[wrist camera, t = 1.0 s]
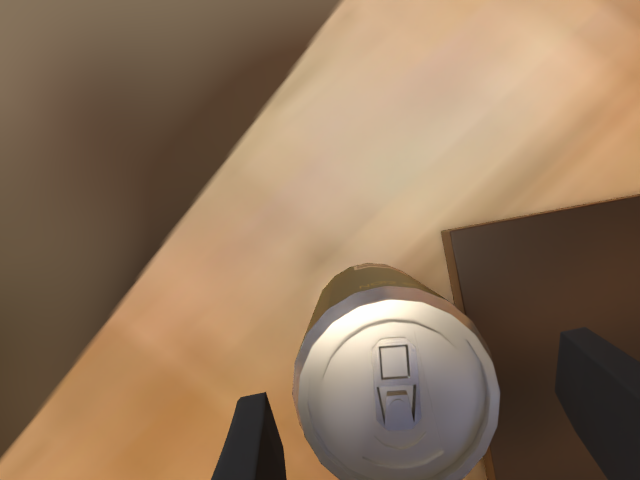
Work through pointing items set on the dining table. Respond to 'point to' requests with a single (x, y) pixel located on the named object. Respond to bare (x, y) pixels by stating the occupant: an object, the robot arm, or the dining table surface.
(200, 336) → the dining table surface
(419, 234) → the dining table surface
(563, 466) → the walnut board
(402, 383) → the beer can
